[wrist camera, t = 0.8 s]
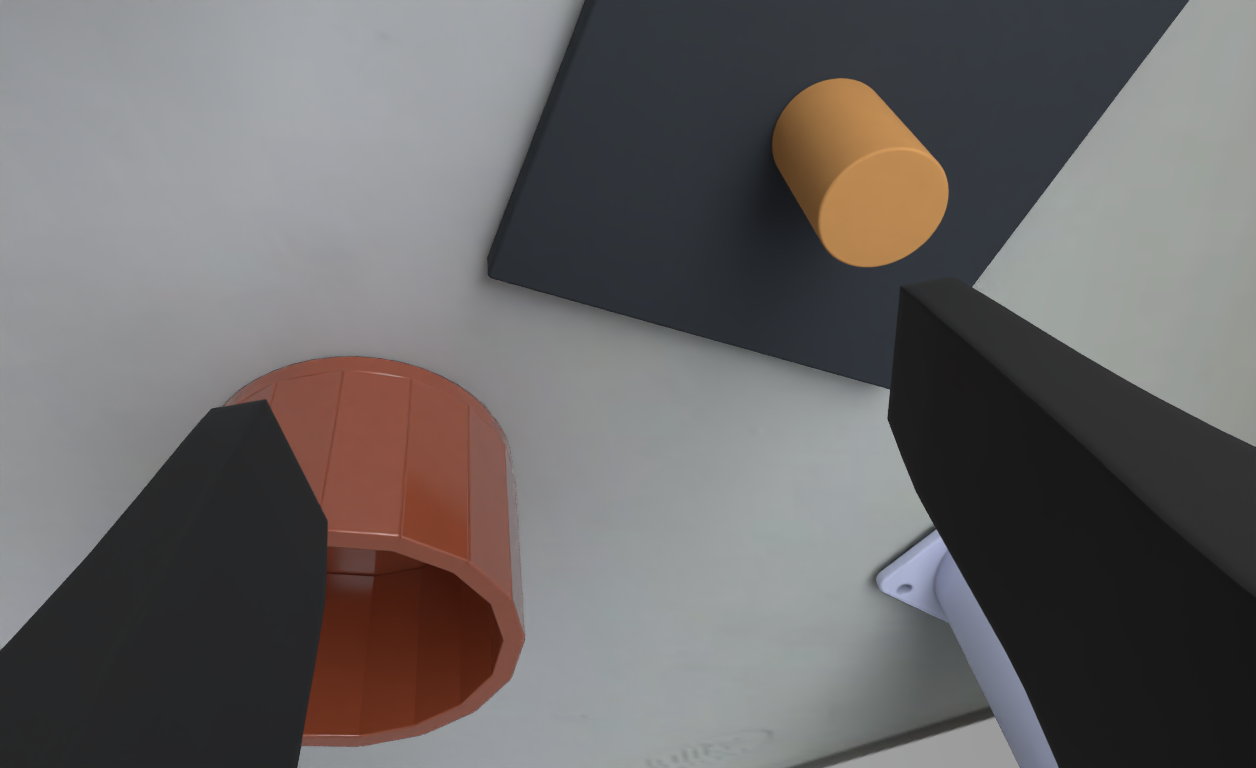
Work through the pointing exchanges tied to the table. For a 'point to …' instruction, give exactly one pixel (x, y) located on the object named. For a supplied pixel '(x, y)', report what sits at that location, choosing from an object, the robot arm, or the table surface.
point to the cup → (403, 545)
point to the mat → (717, 205)
